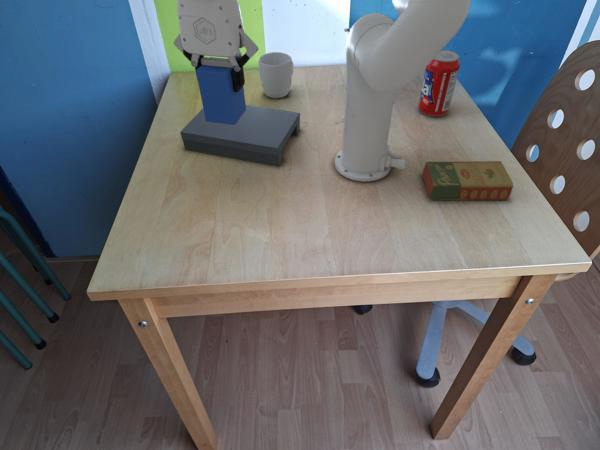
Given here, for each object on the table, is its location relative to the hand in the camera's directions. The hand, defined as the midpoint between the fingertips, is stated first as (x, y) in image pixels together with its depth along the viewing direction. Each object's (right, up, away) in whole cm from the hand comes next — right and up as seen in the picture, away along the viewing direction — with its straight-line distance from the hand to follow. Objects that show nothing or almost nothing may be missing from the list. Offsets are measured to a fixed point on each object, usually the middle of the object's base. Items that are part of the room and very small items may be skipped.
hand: (221, 86), depth 78 cm
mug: (+9, +13, +44) cm, 47 cm away
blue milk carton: (0, -4, +4) cm, 6 cm away
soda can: (+50, +4, +35) cm, 61 cm away
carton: (+49, -18, +11) cm, 53 cm away
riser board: (+1, -5, +26) cm, 26 cm away
